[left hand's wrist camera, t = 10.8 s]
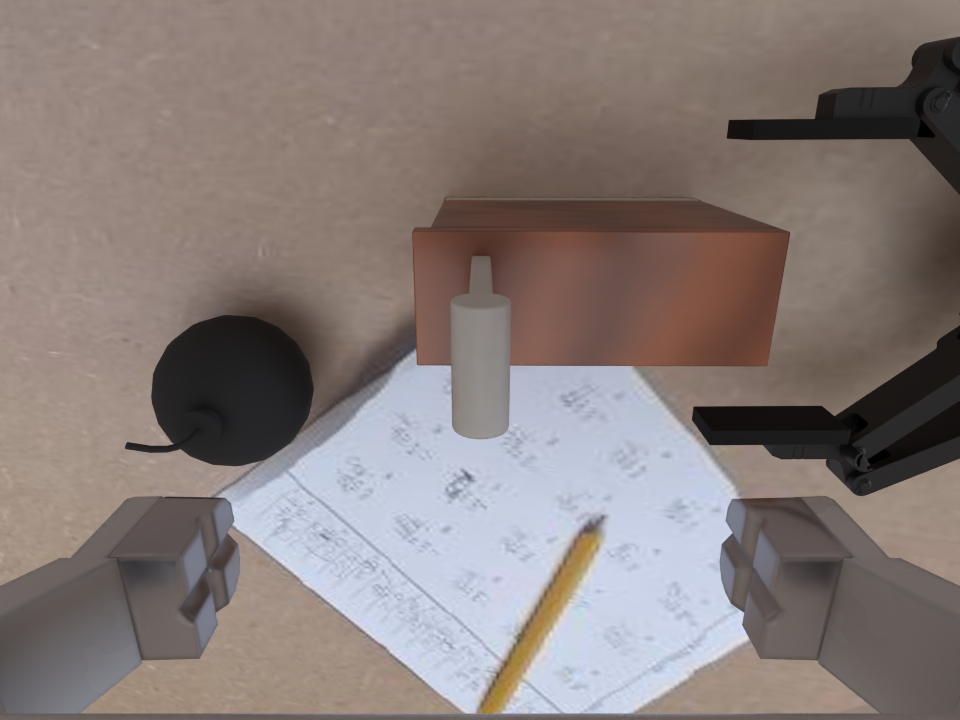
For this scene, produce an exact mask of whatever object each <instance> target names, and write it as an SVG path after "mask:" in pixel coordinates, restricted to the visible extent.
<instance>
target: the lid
mask: <svg viewBox="0 0 960 720" xmlns="http://www.w3.org/2000/svg"><path fill="white" fill-rule="evenodd" d="M789 237H790V232H788V231H785V230H783V229H780V228H414V230H413V232H412V238H413V266H414V294H415V322H416V351H417V365H451V376H452V427H453V429H454V431H455V432H456V433H458V434H459V435H461V436H464V437H467V438H472V439H489V438H494V437H498V436H500V435H502V434H504V433H505V432H506V431H507V429H508V427H509V394H510V365H523V366H767V364H768V358H769V352H770V346H771V340H772V335H773V329H774V323H775V317H776V312H777V306H778V300H779V294H780V289H781V283H782V277H783V271H784V266H785V260H786V254H787V248H788V243H789Z"/></svg>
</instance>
